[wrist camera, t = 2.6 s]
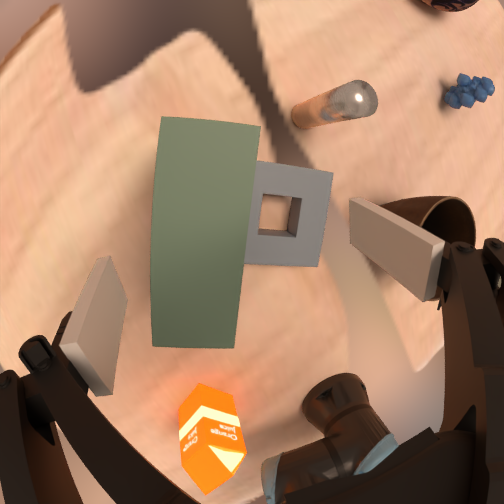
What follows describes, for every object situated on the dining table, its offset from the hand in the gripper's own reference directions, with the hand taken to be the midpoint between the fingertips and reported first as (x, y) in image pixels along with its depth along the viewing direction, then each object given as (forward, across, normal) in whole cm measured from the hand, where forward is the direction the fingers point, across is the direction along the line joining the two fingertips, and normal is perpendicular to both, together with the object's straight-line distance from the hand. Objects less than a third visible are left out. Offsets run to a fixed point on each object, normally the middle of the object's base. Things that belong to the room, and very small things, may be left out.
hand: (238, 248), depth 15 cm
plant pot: (+26, -29, +14) cm, 41 cm away
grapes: (+28, -52, -11) cm, 60 cm away
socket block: (+26, -7, +8) cm, 28 cm away
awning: (+27, +2, +5) cm, 27 cm away
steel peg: (+28, -16, -5) cm, 33 cm away
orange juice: (+22, +10, +42) cm, 48 cm away
